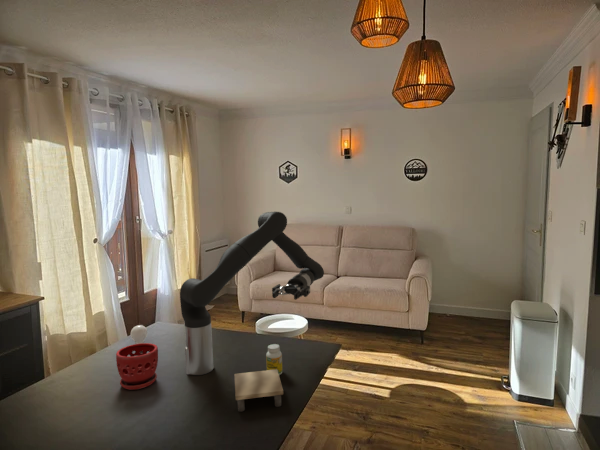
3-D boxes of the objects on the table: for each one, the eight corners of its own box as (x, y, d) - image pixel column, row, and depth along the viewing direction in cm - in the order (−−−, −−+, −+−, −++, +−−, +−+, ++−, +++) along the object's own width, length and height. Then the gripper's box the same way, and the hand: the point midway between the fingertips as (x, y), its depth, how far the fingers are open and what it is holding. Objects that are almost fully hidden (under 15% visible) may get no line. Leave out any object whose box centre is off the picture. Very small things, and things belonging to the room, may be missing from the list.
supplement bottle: (284, 370, 142) (283, 344, 141) (279, 377, 137) (278, 350, 136) (270, 368, 144) (269, 342, 143) (264, 375, 139) (263, 348, 138)
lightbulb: (138, 356, 157) (136, 329, 156) (128, 353, 160) (126, 326, 159) (152, 350, 162) (150, 324, 161) (142, 347, 166) (140, 321, 165)
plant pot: (163, 385, 134) (161, 351, 132) (121, 397, 127) (118, 361, 126) (155, 370, 145) (153, 338, 144) (116, 380, 138) (113, 347, 137)
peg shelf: (236, 413, 116) (235, 396, 116) (235, 389, 130) (234, 373, 129) (283, 407, 119) (283, 390, 118) (277, 384, 133) (277, 369, 132)
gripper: (282, 274, 165) (266, 285, 150) (315, 275, 160) (301, 287, 145) (283, 291, 166) (267, 304, 151) (316, 293, 161) (302, 307, 146)
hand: (284, 296), depth 148 cm, fingers open, 8 cm apart
